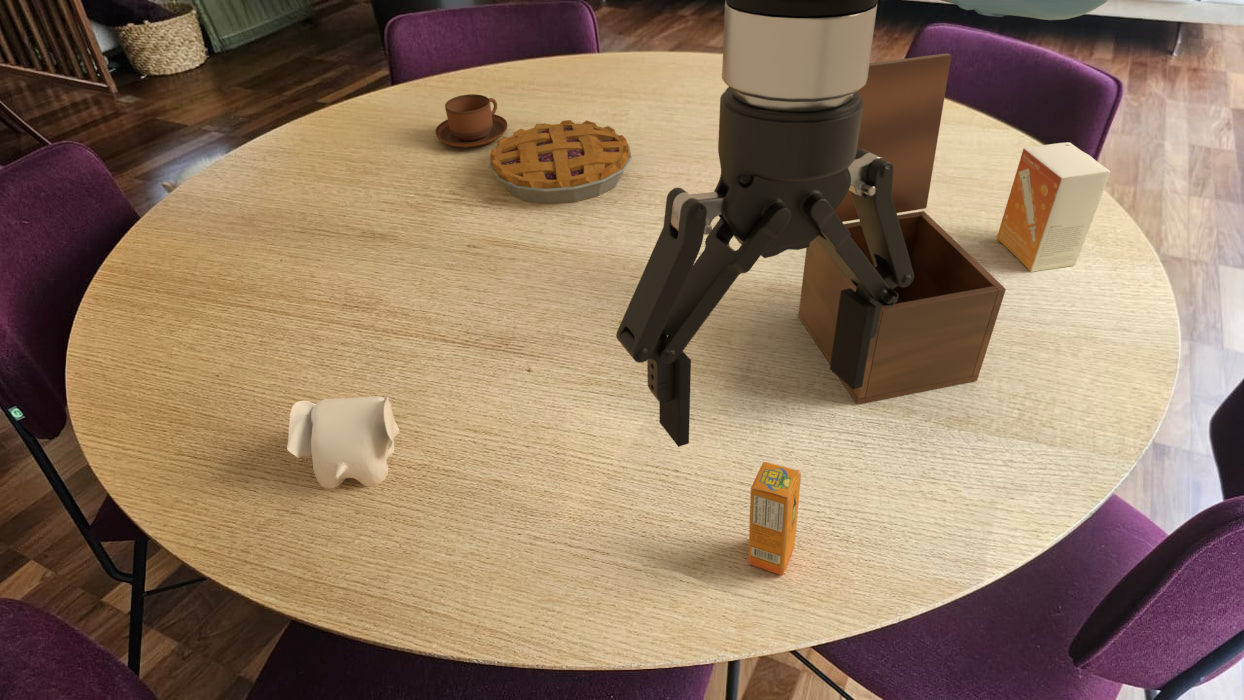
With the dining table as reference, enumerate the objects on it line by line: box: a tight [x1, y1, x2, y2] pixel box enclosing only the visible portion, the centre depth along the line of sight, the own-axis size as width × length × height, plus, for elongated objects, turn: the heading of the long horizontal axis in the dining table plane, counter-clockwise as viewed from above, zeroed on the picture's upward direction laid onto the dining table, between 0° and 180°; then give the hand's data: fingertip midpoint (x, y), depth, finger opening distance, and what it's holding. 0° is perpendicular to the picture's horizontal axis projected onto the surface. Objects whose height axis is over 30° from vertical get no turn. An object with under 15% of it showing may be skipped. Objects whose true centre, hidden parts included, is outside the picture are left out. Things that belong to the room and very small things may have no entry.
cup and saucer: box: [435, 93, 508, 148], centre depth 135 cm, size 12×12×6 cm
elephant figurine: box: [286, 395, 400, 490], centre depth 77 cm, size 10×12×9 cm
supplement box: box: [747, 461, 802, 576], centre depth 66 cm, size 3×3×10 cm
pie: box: [488, 119, 633, 205], centre depth 123 cm, size 22×22×5 cm
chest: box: [797, 210, 1007, 405], centre depth 86 cm, size 16×14×12 cm
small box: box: [996, 141, 1111, 273], centre depth 99 cm, size 8×6×13 cm
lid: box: [835, 52, 952, 223], centre depth 86 cm, size 16×14×6 cm
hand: (763, 404), depth 55 cm, fingers open, 13 cm apart
